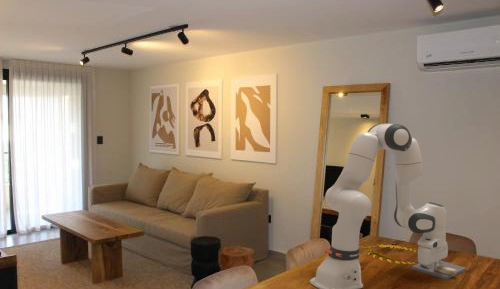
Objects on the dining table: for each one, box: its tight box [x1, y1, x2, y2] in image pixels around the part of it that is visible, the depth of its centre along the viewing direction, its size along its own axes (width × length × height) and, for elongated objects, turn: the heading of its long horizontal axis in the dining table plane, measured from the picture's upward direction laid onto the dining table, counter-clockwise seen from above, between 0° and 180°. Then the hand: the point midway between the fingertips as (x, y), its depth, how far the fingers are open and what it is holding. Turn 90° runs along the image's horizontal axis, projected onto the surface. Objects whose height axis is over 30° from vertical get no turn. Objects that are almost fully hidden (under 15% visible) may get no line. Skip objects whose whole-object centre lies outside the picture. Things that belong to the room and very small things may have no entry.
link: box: [420, 264, 457, 277], centre depth 175 cm, size 15×5×2 cm, turn 39°
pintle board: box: [410, 260, 467, 281], centre depth 180 cm, size 20×16×5 cm
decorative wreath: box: [361, 242, 418, 265], centre depth 204 cm, size 35×2×30 cm
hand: (432, 270), depth 170 cm, fingers closed
